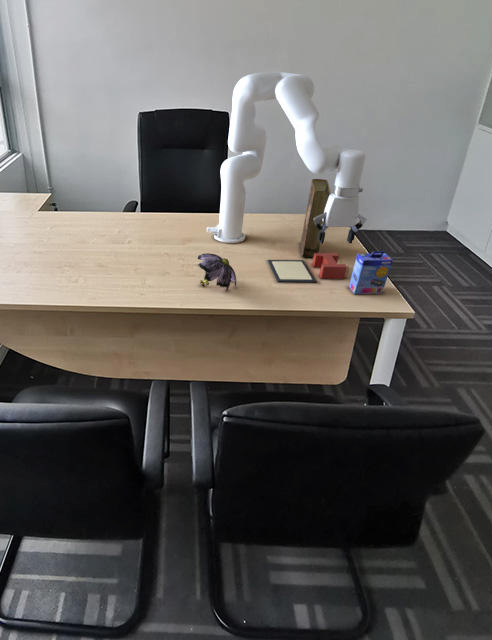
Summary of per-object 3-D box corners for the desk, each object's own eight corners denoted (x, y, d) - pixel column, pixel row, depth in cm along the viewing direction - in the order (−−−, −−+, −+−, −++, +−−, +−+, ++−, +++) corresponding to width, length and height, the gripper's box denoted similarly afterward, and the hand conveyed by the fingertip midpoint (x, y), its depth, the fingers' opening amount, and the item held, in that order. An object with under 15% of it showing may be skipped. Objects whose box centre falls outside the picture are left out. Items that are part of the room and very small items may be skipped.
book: (300, 242, 196) (311, 178, 182) (314, 243, 195) (327, 179, 181) (301, 258, 183) (314, 190, 169) (317, 259, 182) (331, 191, 168)
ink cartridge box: (354, 295, 158) (365, 253, 150) (347, 287, 163) (357, 246, 155) (383, 294, 159) (396, 252, 151) (376, 286, 163) (387, 245, 155)
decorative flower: (238, 271, 150) (196, 248, 153) (221, 303, 155) (181, 281, 158) (249, 265, 162) (210, 245, 166) (233, 296, 167) (196, 275, 171)
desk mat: (277, 282, 165) (278, 281, 165) (268, 260, 180) (268, 259, 180) (316, 282, 166) (316, 281, 165) (303, 261, 180) (303, 259, 180)
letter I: (321, 278, 168) (323, 266, 166) (312, 264, 178) (314, 252, 175) (344, 279, 168) (347, 267, 166) (333, 264, 178) (336, 253, 176)
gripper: (368, 188, 160) (356, 238, 170) (315, 188, 160) (307, 238, 170) (376, 194, 154) (364, 246, 164) (322, 194, 154) (312, 246, 164)
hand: (335, 242), depth 167 cm, fingers open, 9 cm apart
